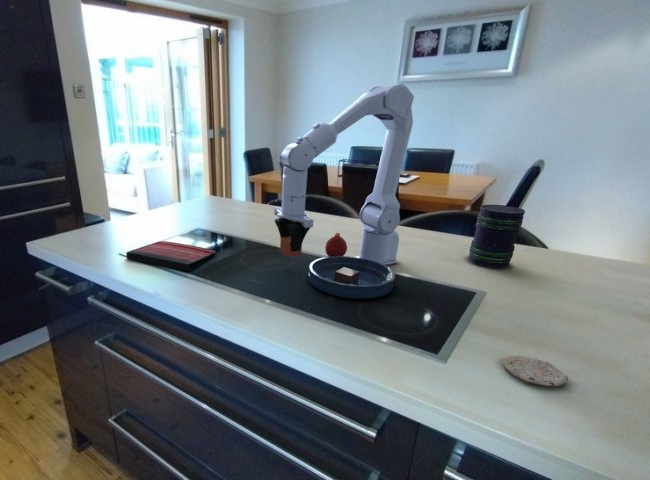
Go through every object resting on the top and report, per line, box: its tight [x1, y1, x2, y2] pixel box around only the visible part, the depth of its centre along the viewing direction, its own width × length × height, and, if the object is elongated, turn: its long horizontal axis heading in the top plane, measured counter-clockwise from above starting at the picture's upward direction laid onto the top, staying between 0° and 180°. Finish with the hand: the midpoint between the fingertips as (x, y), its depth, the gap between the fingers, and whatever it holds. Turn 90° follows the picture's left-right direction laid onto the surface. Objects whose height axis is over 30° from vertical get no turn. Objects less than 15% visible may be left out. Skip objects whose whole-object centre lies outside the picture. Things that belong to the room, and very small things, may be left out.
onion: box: [324, 232, 348, 257], centre depth 107 cm, size 6×6×8 cm
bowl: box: [307, 255, 396, 300], centre depth 93 cm, size 19×19×4 cm
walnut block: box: [334, 267, 360, 285], centre depth 89 cm, size 4×4×4 cm
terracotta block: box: [279, 236, 303, 257], centre depth 100 cm, size 4×4×4 cm
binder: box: [125, 240, 217, 273], centre depth 111 cm, size 16×2×21 cm
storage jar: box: [467, 204, 526, 270], centre depth 104 cm, size 10×10×15 cm
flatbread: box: [502, 355, 569, 387], centre depth 61 cm, size 8×8×1 cm
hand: (290, 248), depth 100 cm, fingers closed on terracotta block, 4 cm apart
